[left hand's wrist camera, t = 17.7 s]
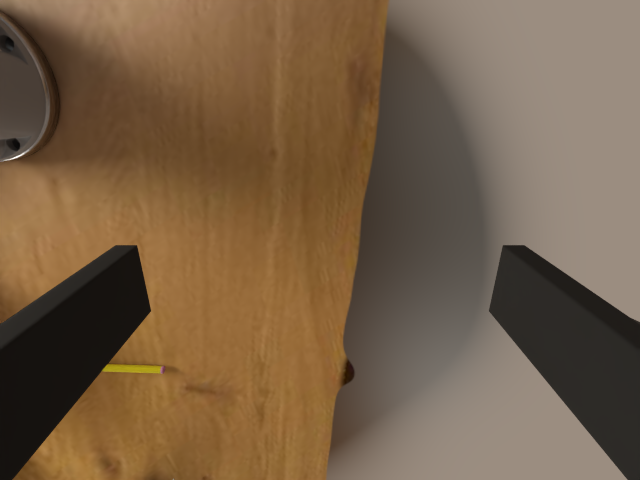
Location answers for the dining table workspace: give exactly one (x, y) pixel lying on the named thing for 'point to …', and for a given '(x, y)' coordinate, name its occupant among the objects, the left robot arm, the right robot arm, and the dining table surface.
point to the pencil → (134, 368)
